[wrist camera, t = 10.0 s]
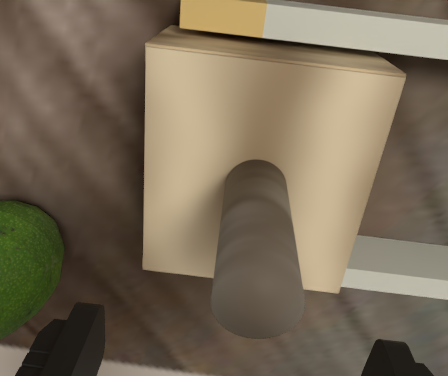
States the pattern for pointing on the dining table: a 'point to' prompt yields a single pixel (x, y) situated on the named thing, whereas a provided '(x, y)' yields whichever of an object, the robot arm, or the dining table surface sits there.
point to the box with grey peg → (260, 166)
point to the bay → (356, 39)
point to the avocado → (26, 262)
